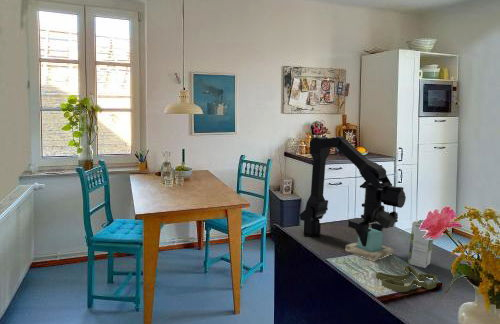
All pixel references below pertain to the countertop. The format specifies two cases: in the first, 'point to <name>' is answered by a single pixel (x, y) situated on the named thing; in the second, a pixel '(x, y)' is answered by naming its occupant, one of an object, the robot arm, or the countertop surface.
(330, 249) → the countertop surface
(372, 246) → the turquoise block
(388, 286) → the cookie cutter
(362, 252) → the socket base
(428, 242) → the syrup box
